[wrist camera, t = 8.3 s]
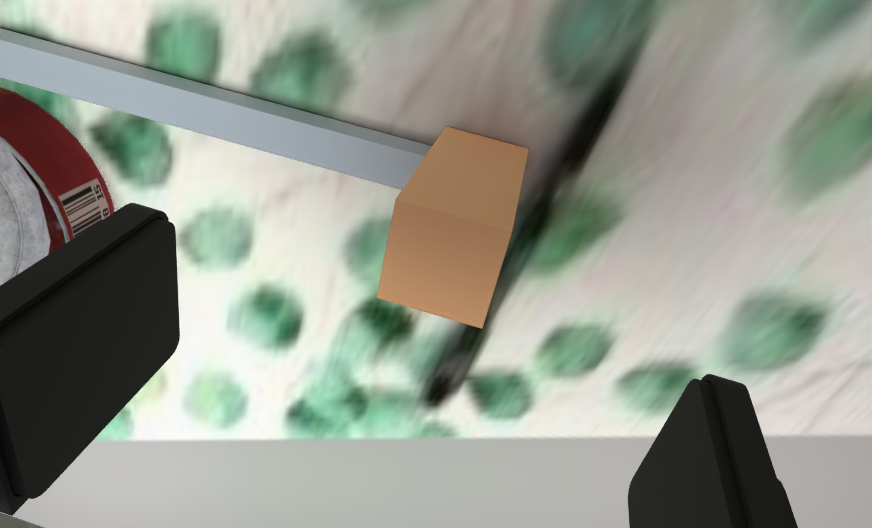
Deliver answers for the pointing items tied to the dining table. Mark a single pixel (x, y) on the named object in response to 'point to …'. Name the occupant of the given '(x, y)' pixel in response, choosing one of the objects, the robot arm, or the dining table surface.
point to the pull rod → (330, 167)
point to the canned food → (42, 185)
